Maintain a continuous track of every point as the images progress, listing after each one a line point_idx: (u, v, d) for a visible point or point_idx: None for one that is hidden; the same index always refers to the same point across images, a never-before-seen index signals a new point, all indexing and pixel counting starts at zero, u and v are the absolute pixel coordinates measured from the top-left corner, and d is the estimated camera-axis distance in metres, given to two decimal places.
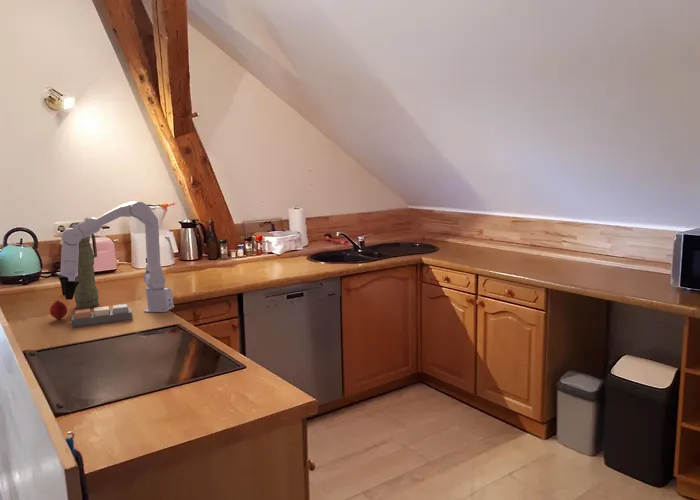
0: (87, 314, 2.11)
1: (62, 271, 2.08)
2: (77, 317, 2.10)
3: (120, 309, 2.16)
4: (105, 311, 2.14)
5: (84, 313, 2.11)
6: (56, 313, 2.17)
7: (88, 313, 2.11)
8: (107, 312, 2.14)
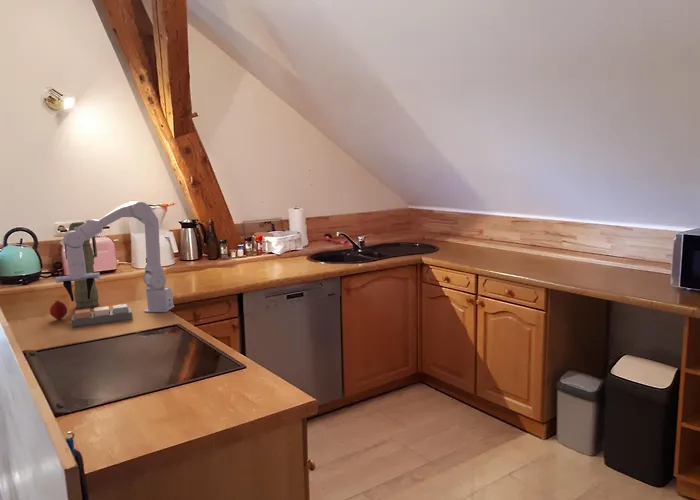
0: (87, 314, 2.11)
1: (82, 274, 2.09)
2: (77, 317, 2.10)
3: (120, 309, 2.16)
4: (105, 311, 2.14)
5: (84, 313, 2.11)
6: (56, 313, 2.17)
7: (88, 313, 2.11)
8: (107, 312, 2.14)
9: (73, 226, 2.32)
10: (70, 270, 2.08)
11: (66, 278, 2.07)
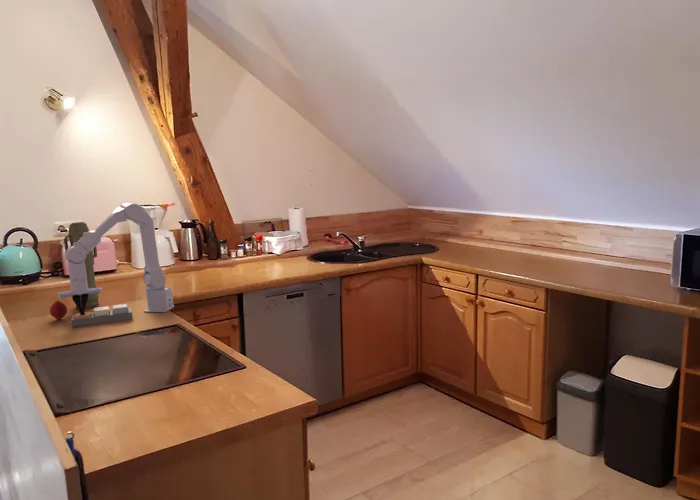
0: (87, 317, 2.12)
1: (83, 289, 2.10)
2: None
3: (120, 309, 2.16)
4: (105, 311, 2.14)
5: (84, 316, 2.11)
6: (56, 313, 2.17)
7: (88, 316, 2.12)
8: (107, 312, 2.14)
9: (73, 226, 2.32)
10: (72, 285, 2.09)
11: (68, 293, 2.08)
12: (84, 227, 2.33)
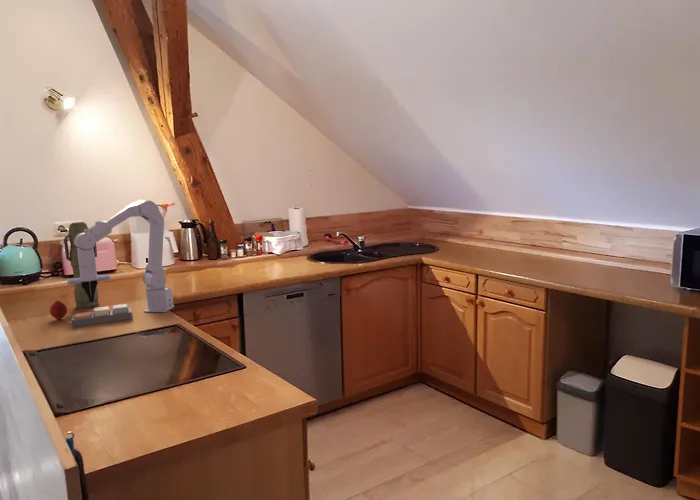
0: (87, 317, 2.12)
1: (92, 276, 2.10)
2: None
3: (120, 309, 2.16)
4: (105, 311, 2.14)
5: (84, 316, 2.11)
6: (56, 313, 2.17)
7: (88, 316, 2.12)
8: (107, 312, 2.14)
9: (73, 226, 2.32)
10: (81, 272, 2.09)
11: (77, 280, 2.09)
12: (84, 227, 2.33)
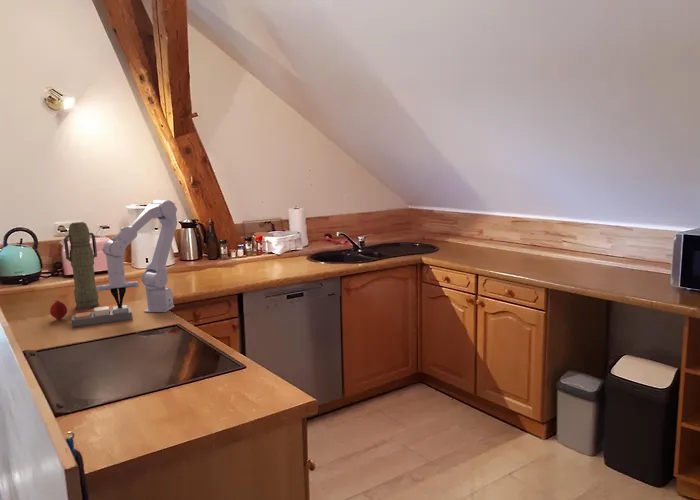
0: (87, 317, 2.12)
1: (121, 282, 2.15)
2: None
3: (120, 310, 2.16)
4: (105, 311, 2.14)
5: (84, 316, 2.11)
6: (56, 313, 2.17)
7: (88, 316, 2.12)
8: (107, 312, 2.14)
9: (73, 226, 2.32)
10: (110, 279, 2.13)
11: (106, 287, 2.13)
12: (84, 227, 2.33)
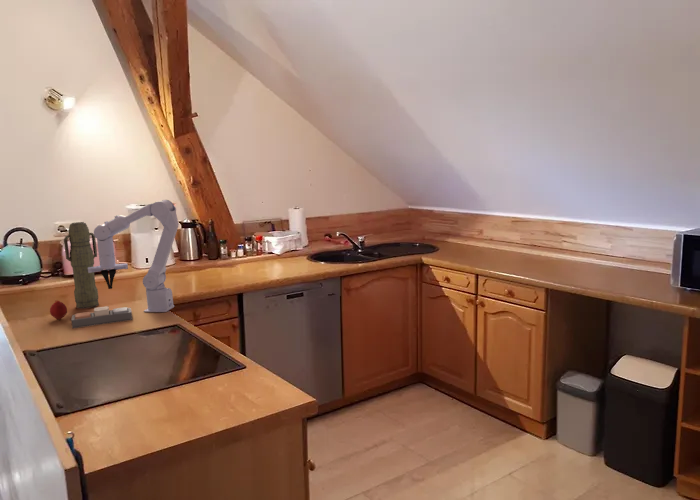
0: (87, 317, 2.12)
1: (111, 264, 2.25)
2: None
3: (120, 312, 2.16)
4: (105, 311, 2.14)
5: (84, 316, 2.11)
6: (56, 313, 2.17)
7: (88, 316, 2.12)
8: (107, 312, 2.14)
9: (73, 226, 2.32)
10: (101, 261, 2.24)
11: (97, 268, 2.24)
12: (84, 227, 2.33)
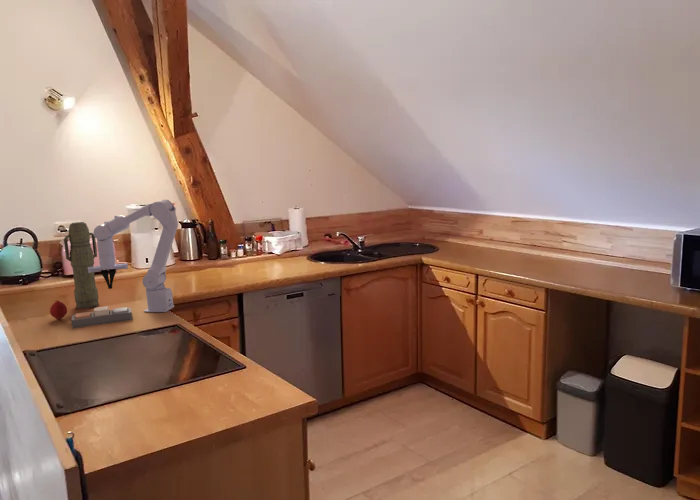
0: (87, 317, 2.12)
1: (111, 264, 2.26)
2: None
3: (120, 312, 2.16)
4: (105, 311, 2.14)
5: (84, 316, 2.11)
6: (56, 313, 2.17)
7: (88, 316, 2.12)
8: (107, 312, 2.14)
9: (73, 226, 2.32)
10: (101, 261, 2.24)
11: (97, 268, 2.24)
12: (84, 227, 2.33)
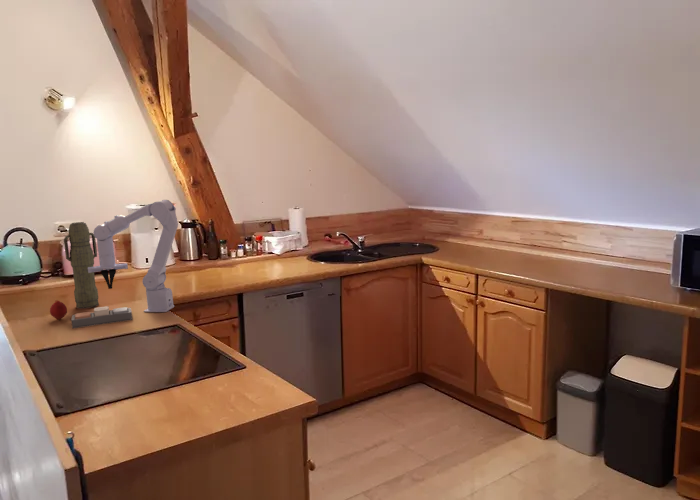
0: (87, 317, 2.12)
1: (111, 264, 2.26)
2: None
3: (120, 312, 2.16)
4: (105, 311, 2.14)
5: (84, 316, 2.11)
6: (56, 313, 2.17)
7: (88, 316, 2.12)
8: (107, 312, 2.14)
9: (73, 226, 2.32)
10: (101, 261, 2.24)
11: (97, 268, 2.24)
12: (84, 227, 2.33)
